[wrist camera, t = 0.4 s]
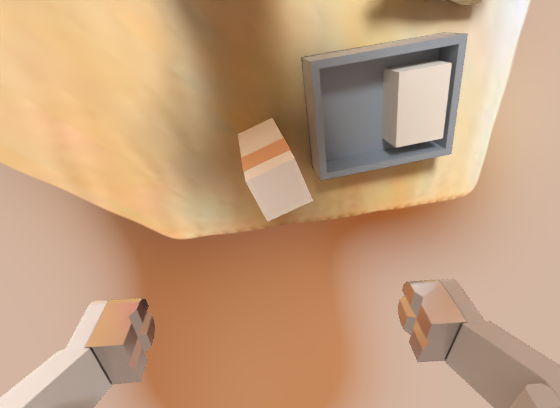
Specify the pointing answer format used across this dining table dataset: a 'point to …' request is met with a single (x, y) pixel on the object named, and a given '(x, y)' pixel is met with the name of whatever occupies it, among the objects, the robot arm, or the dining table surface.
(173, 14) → the dining table surface
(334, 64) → the tote
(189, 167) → the dining table surface
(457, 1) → the beige rock
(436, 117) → the white rectangular block
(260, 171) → the juice carton
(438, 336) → the robot arm
